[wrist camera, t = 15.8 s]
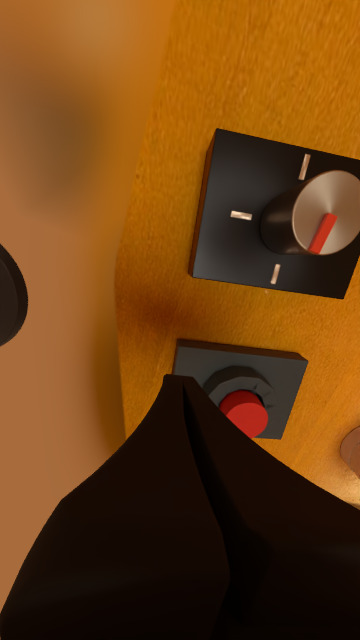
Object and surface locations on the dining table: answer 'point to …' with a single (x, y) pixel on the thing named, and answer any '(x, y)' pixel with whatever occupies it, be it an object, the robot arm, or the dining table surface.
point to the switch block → (245, 376)
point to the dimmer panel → (246, 212)
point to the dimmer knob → (314, 216)
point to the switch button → (245, 412)
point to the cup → (352, 451)
